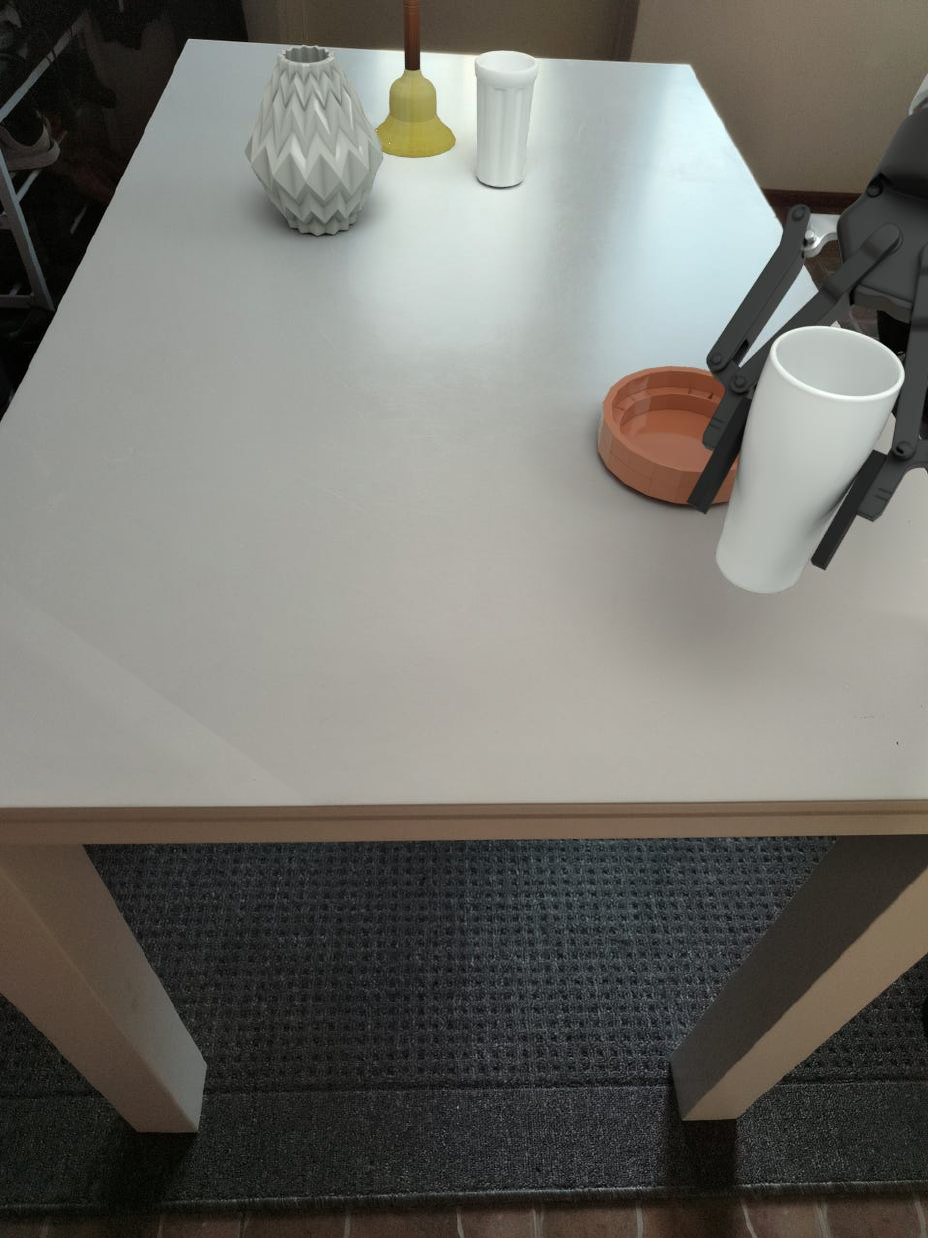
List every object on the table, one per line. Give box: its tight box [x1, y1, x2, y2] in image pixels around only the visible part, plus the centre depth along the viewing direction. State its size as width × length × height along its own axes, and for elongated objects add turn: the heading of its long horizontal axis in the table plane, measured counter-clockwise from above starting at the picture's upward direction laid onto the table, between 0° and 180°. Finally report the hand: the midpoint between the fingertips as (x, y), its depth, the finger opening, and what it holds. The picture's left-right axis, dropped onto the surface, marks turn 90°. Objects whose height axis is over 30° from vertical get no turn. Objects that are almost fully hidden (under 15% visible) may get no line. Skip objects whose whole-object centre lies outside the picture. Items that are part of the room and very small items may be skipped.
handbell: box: [374, 0, 457, 158], centre depth 119 cm, size 12×12×25 cm
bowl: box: [597, 365, 740, 505], centre depth 82 cm, size 16×16×4 cm
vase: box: [244, 44, 384, 237], centre depth 105 cm, size 16×16×18 cm
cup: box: [474, 50, 540, 188], centre depth 115 cm, size 8×8×14 cm
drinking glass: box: [715, 326, 905, 595], centre depth 50 cm, size 7×7×15 cm
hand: (755, 535), depth 50 cm, fingers closed on drinking glass, 7 cm apart
